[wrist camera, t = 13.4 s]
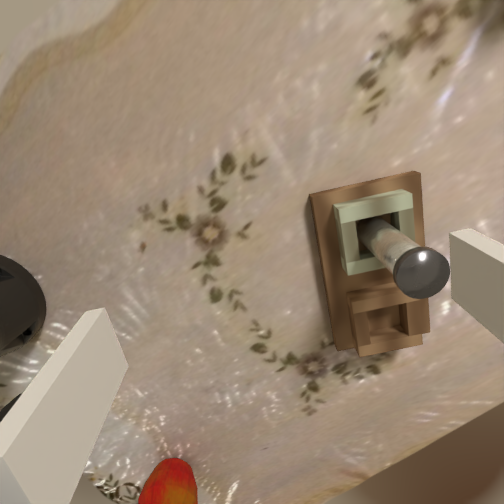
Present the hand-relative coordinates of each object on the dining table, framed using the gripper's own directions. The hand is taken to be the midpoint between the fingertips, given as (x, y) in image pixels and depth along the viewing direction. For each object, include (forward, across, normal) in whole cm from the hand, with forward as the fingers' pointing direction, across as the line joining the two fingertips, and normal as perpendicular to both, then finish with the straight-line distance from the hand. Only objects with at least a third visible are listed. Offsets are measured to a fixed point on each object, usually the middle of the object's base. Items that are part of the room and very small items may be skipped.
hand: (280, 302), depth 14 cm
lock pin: (+35, +14, -11) cm, 39 cm away
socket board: (+37, +14, -17) cm, 43 cm away
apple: (+37, -24, -47) cm, 64 cm away
